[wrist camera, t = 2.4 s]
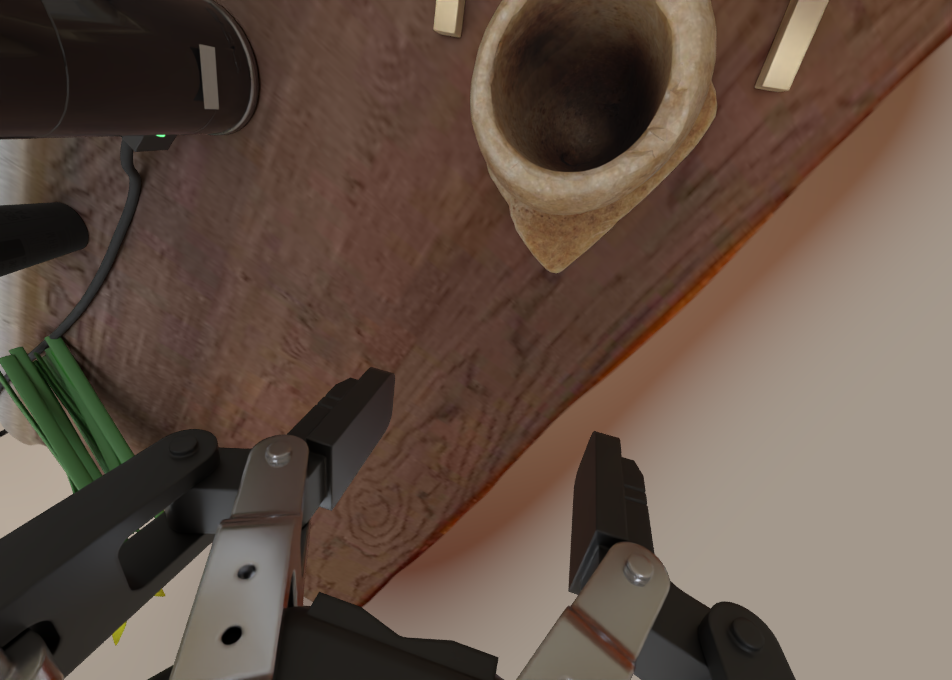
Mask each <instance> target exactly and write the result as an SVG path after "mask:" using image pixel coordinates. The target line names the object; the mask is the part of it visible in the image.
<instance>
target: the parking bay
mask: <svg viewBox="0 0 952 680" xmlns="http://www.w3.org/2000/svg"><path fill="white" fill-rule="evenodd" d="M828 2H829V0H790V3H789V5H788V7H787V10H786V12H785V15H784V17H783V19H782V22H781V24H780V27H779V29H778V32H777V34H776V36H775V39H774V41H773V44H772V46H771V48H770V51H769V53H768V56H767V58H766V61H765V63H764V65H763V68H762V70H761V73H760V75H759V77H758V80H757V82H756V85H755V88H757V89H762V90H768V91H774V92H783V91H788V90H789V89H790V86H791V84H792V82H793V80H794V78H795V75H796V73H797V71H798V69H799V66H800V64H801V62H802V60H803V58H804V55H805V53H806V51H807V49H808V46H809V44H810V42H811V40H812V37H813V35H814V33H815V31H816V29H817V26H818V24H819V22H820V20H821V17H822V15H823V13H824V11H825V9H826V6H827V4H828ZM464 7H465V0H436V10H435V20H434V31H436V32H438V33H439V34H441V35H447V36H453V37H459V38H460V37H461V31H462V23H463V15H464Z"/></svg>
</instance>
